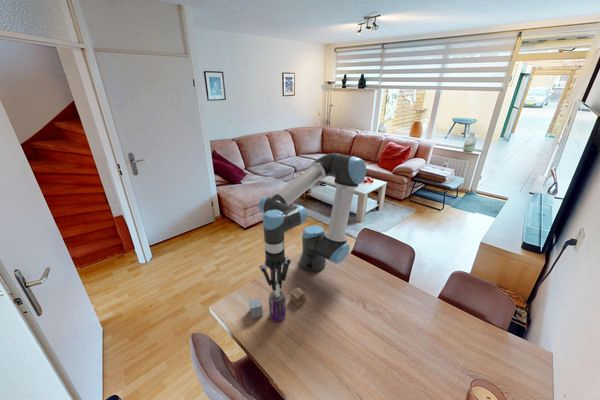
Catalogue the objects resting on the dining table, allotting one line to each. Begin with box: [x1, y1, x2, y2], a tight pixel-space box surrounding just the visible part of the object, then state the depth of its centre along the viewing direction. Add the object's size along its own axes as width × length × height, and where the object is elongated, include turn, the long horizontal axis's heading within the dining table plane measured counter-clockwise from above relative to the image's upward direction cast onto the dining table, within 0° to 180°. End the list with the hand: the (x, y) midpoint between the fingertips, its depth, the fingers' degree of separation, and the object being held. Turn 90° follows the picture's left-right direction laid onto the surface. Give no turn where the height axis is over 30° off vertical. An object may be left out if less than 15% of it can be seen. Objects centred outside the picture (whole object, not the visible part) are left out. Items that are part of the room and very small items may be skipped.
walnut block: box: [289, 287, 306, 307], centre depth 121 cm, size 5×5×5 cm
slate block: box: [248, 297, 264, 319], centre depth 114 cm, size 5×5×6 cm
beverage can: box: [268, 290, 287, 322], centre depth 111 cm, size 7×7×12 cm
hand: (277, 294), depth 109 cm, fingers closed
